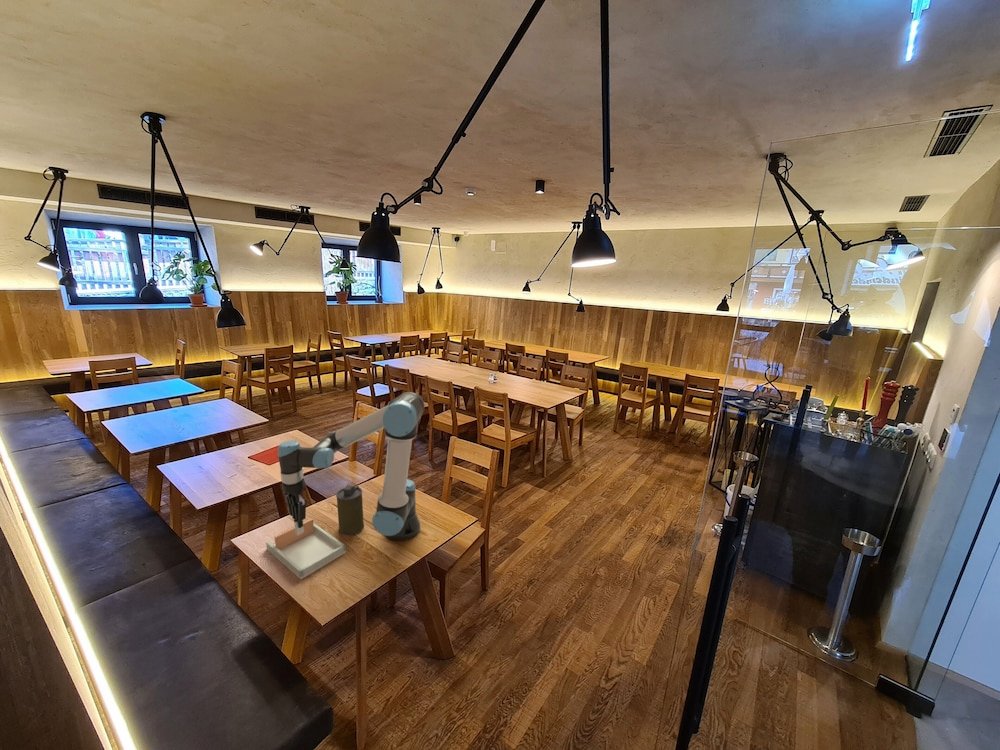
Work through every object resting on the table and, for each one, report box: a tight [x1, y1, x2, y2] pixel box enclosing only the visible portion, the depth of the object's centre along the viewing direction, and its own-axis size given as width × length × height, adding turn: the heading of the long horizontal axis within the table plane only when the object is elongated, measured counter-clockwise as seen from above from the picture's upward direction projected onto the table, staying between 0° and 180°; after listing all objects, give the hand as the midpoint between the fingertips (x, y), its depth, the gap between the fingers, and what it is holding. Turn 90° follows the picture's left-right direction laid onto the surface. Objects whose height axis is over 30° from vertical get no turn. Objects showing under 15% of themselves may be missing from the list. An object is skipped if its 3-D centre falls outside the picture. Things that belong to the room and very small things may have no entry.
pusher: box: [274, 517, 315, 550], centre depth 159 cm, size 7×15×6 cm, turn 144°
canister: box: [335, 484, 365, 537], centre depth 166 cm, size 11×10×20 cm
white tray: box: [265, 522, 347, 580], centre depth 153 cm, size 26×18×3 cm
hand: (299, 533), depth 155 cm, fingers closed
